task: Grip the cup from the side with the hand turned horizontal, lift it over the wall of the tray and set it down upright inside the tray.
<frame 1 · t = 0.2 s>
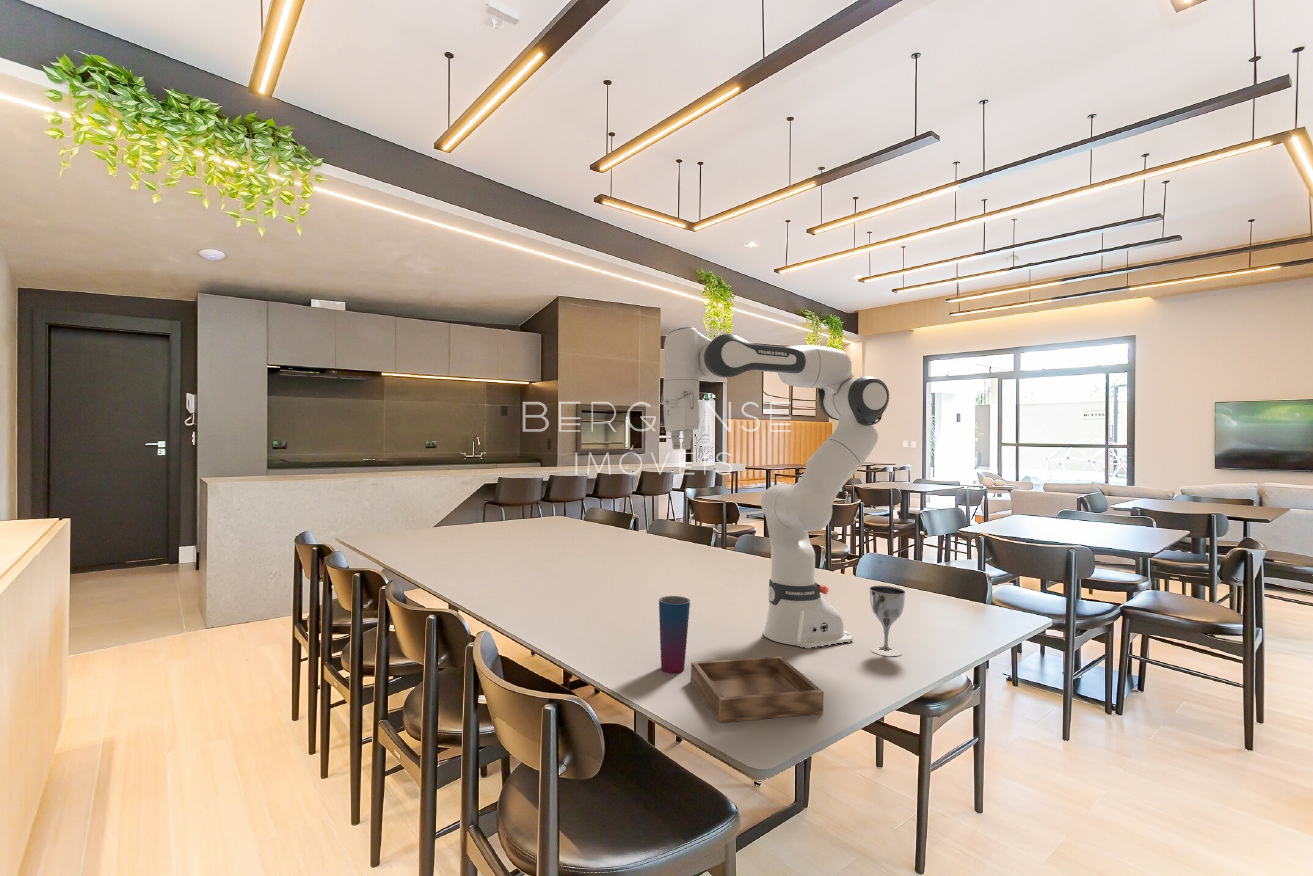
hand: (681, 449, 143), 48 cm above the table, tool pointing down, fingers open, 8 cm apart
wine glass: (885, 652, 140), on the table
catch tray: (753, 696, 113), on the table
cup: (672, 669, 126), on the table
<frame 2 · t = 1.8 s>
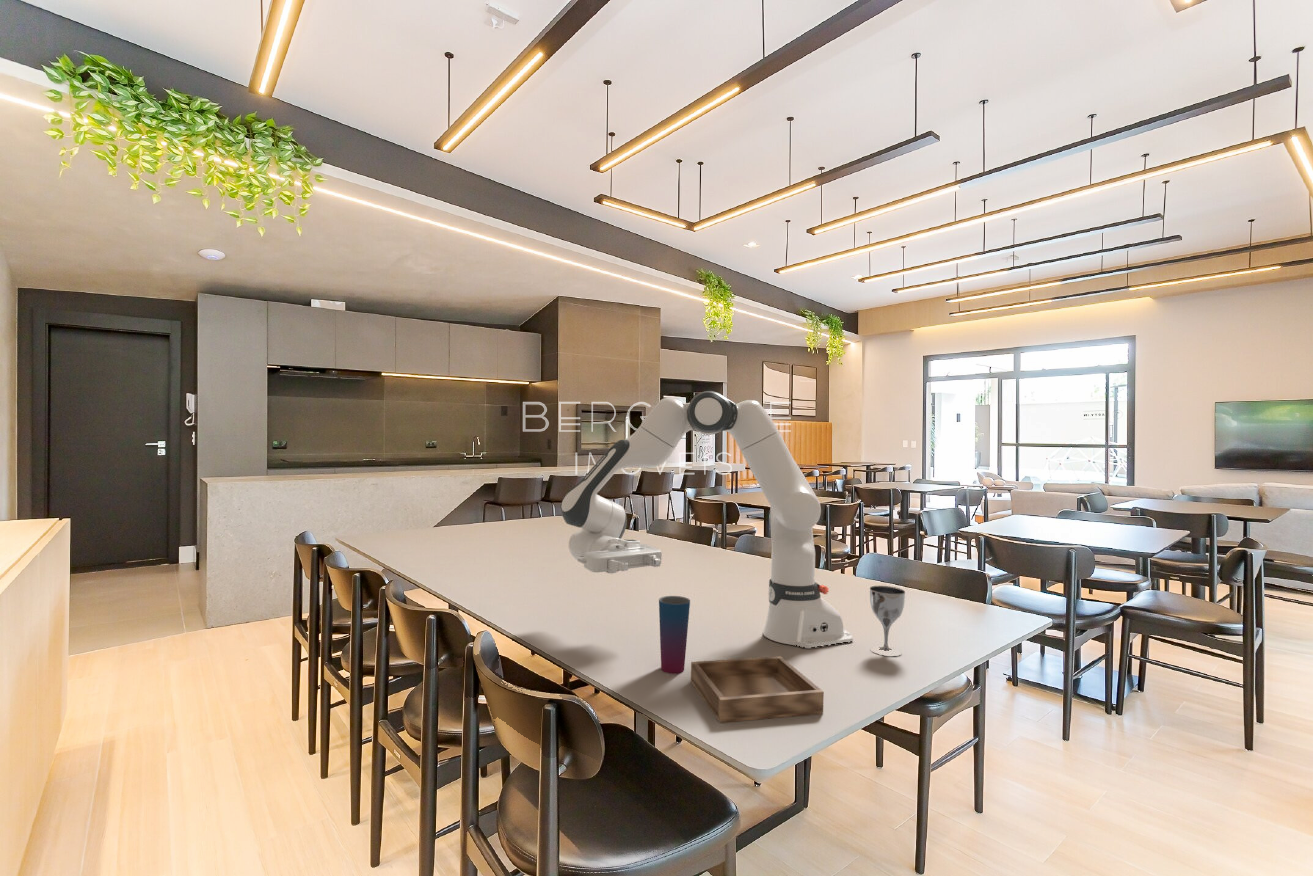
hand: (642, 565, 136), 20 cm above the table, tool horizontal, fingers open, 8 cm apart
nothing on the table moved.
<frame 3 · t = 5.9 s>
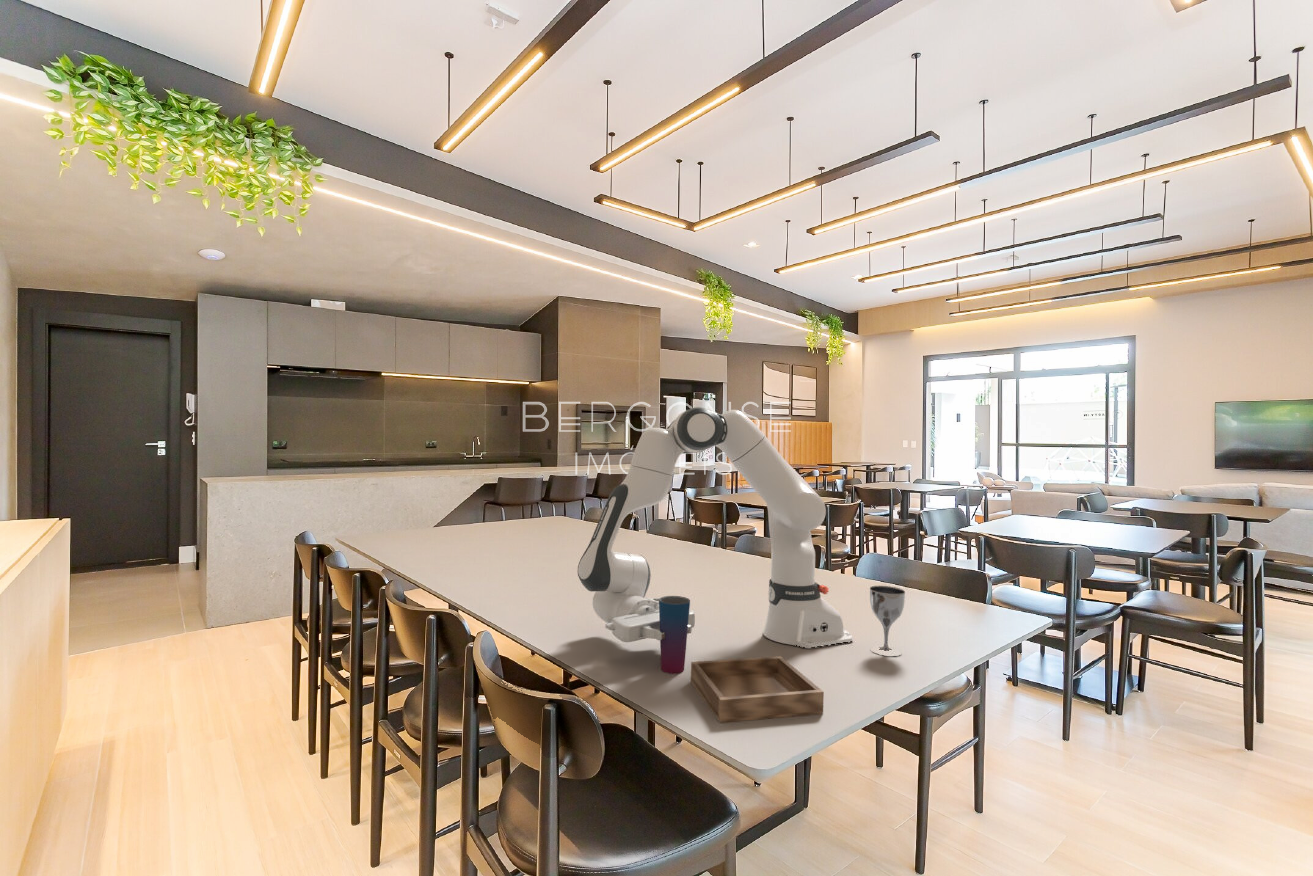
hand: (676, 633, 125), 8 cm above the table, tool horizontal, fingers closed on cup, 6 cm apart
cup: (672, 669, 126), on the table, touching gripper
everything else where it was.
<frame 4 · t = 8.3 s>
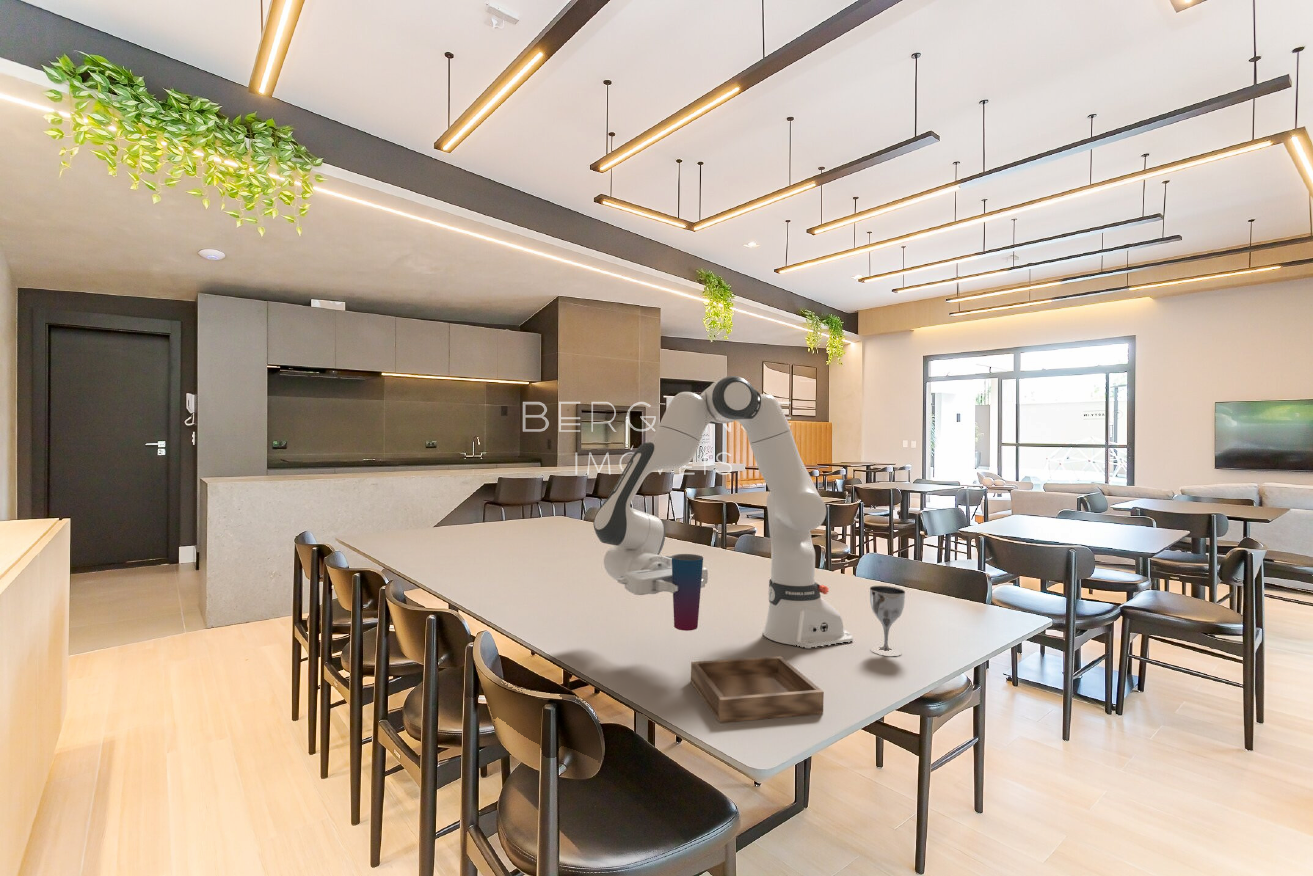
hand: (689, 586, 123), 19 cm above the table, tool horizontal, fingers closed on cup, 6 cm apart
cup: (685, 627, 124), point 10 cm above the table, touching gripper
everything else where it was.
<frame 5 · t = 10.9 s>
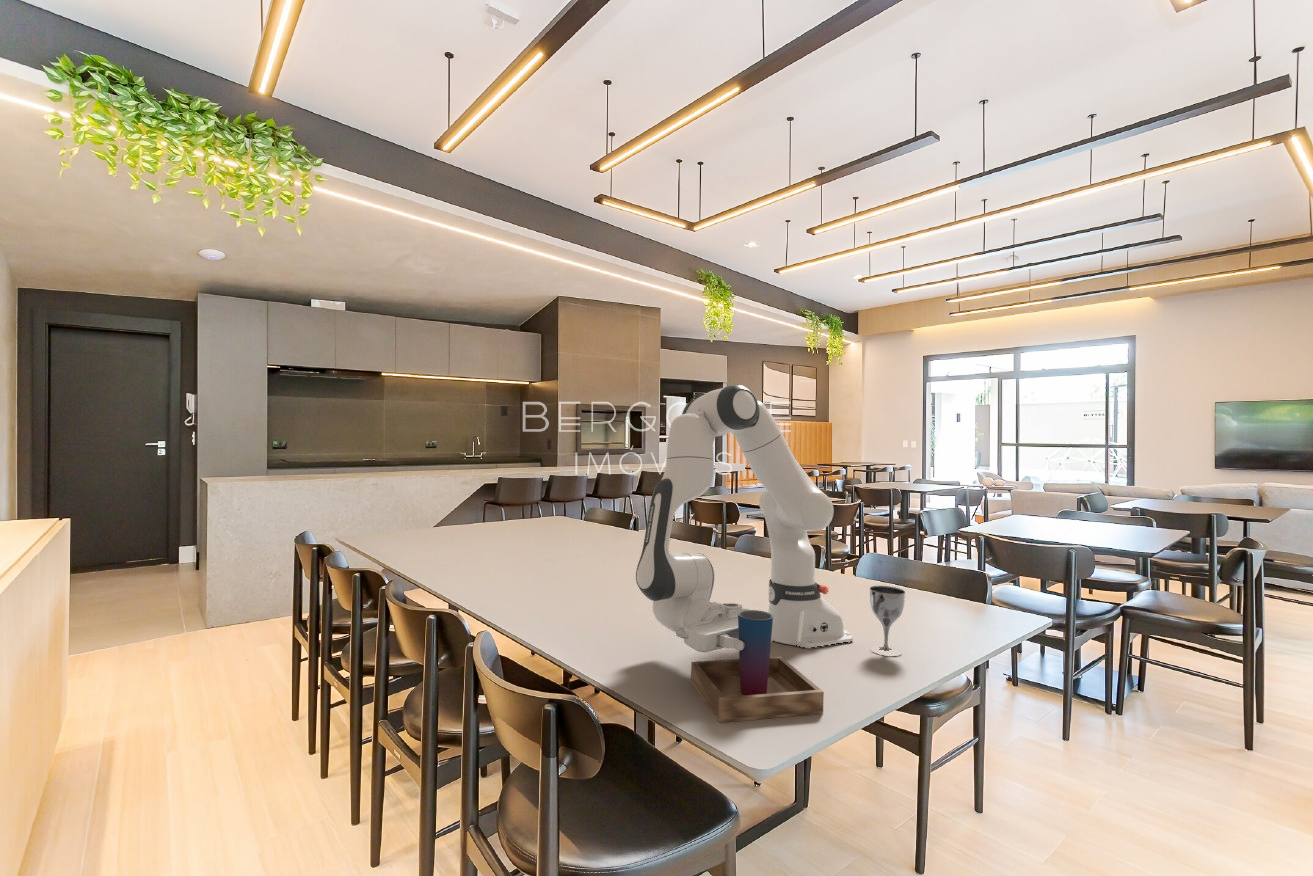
hand: (757, 642, 112), 11 cm above the table, tool horizontal, fingers closed on cup, 6 cm apart
cup: (753, 693, 113), point 1 cm above the table, touching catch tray, gripper
everything else where it was.
when the fingers open (11 cm above the table, at t = 11.4 s): cup stays where it is, resting on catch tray.
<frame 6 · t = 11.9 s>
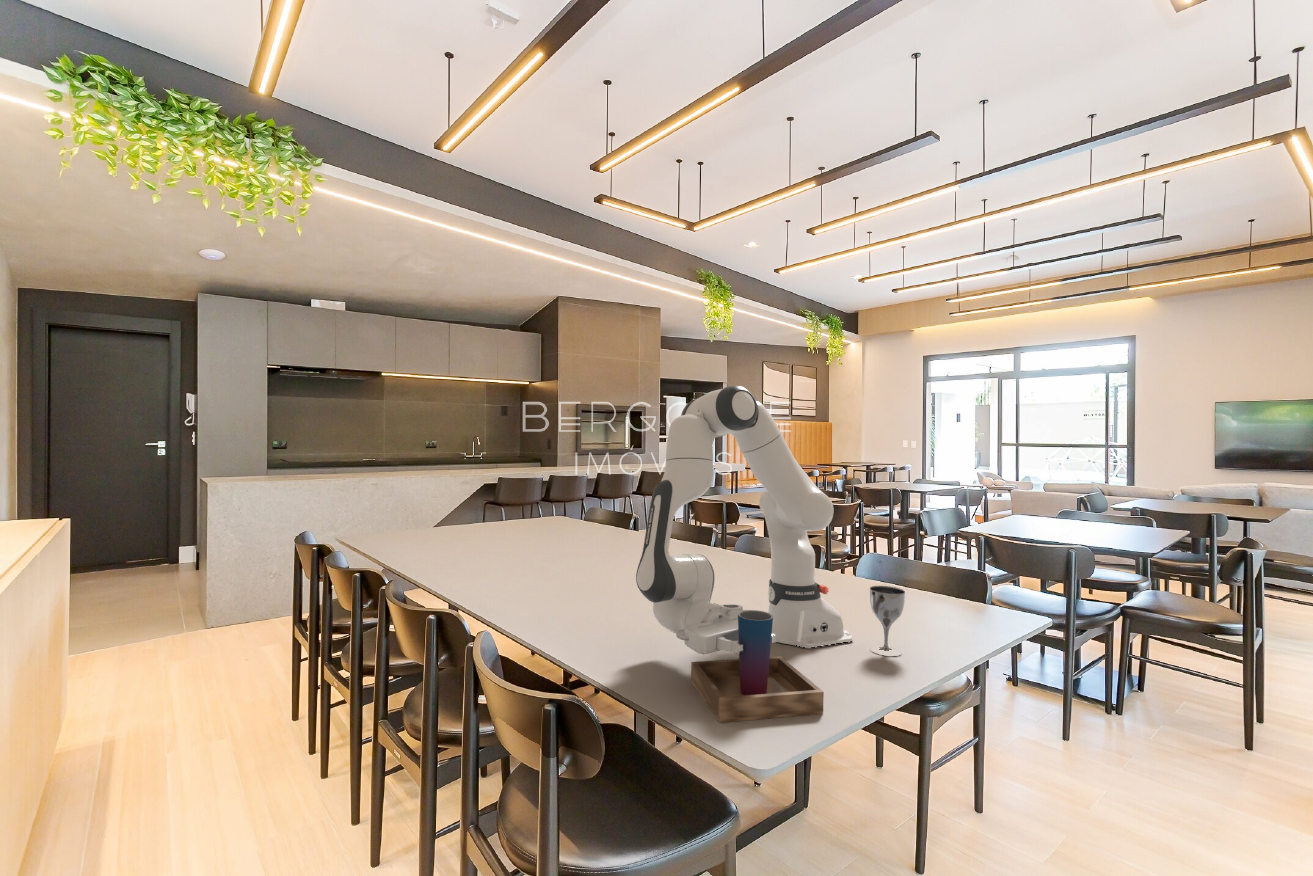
hand: (757, 643, 112), 11 cm above the table, tool horizontal, fingers open, 8 cm apart
cup: (753, 693, 113), point 1 cm above the table, touching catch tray
everything else where it was.
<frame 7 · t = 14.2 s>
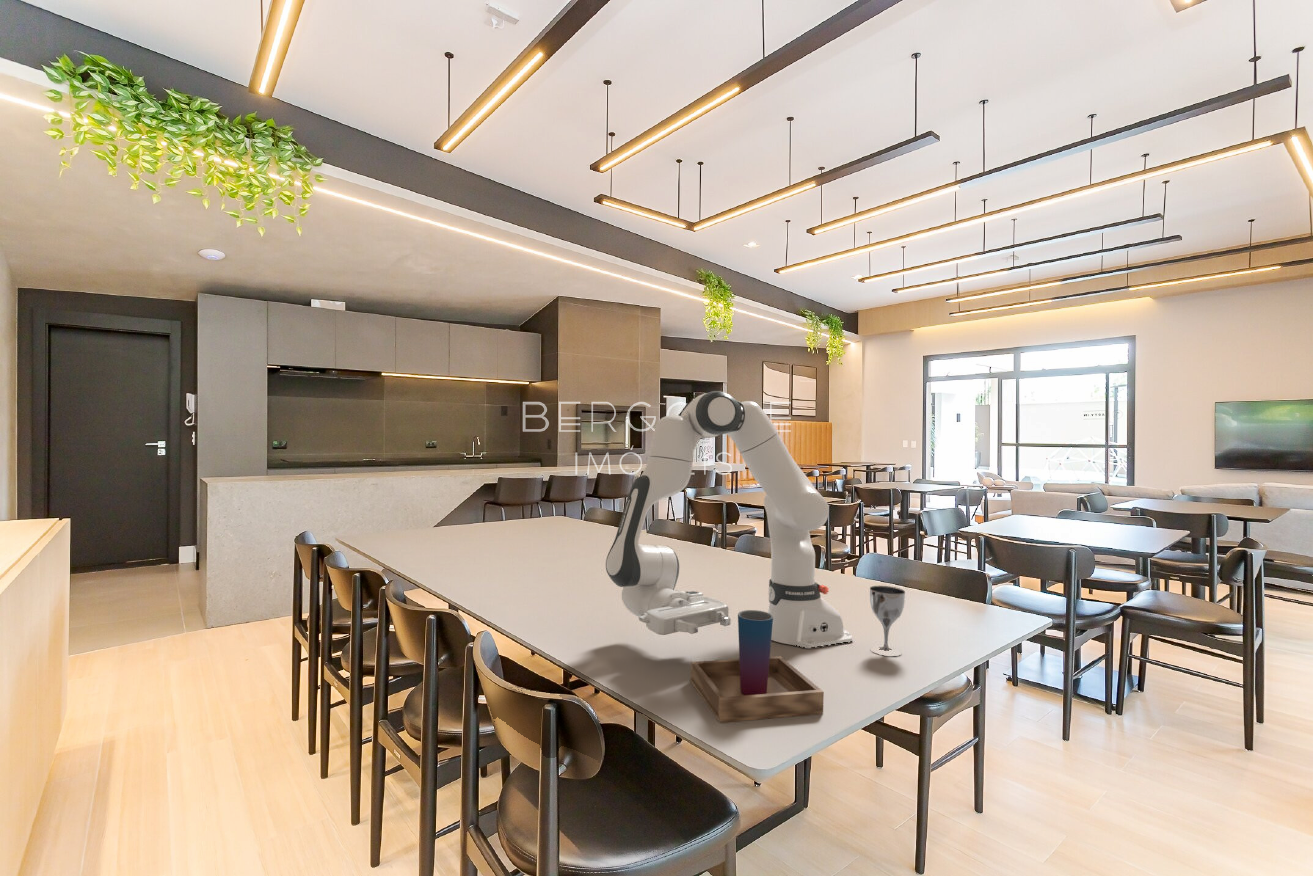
hand: (712, 625, 123), 11 cm above the table, tool horizontal, fingers open, 8 cm apart
nothing on the table moved.
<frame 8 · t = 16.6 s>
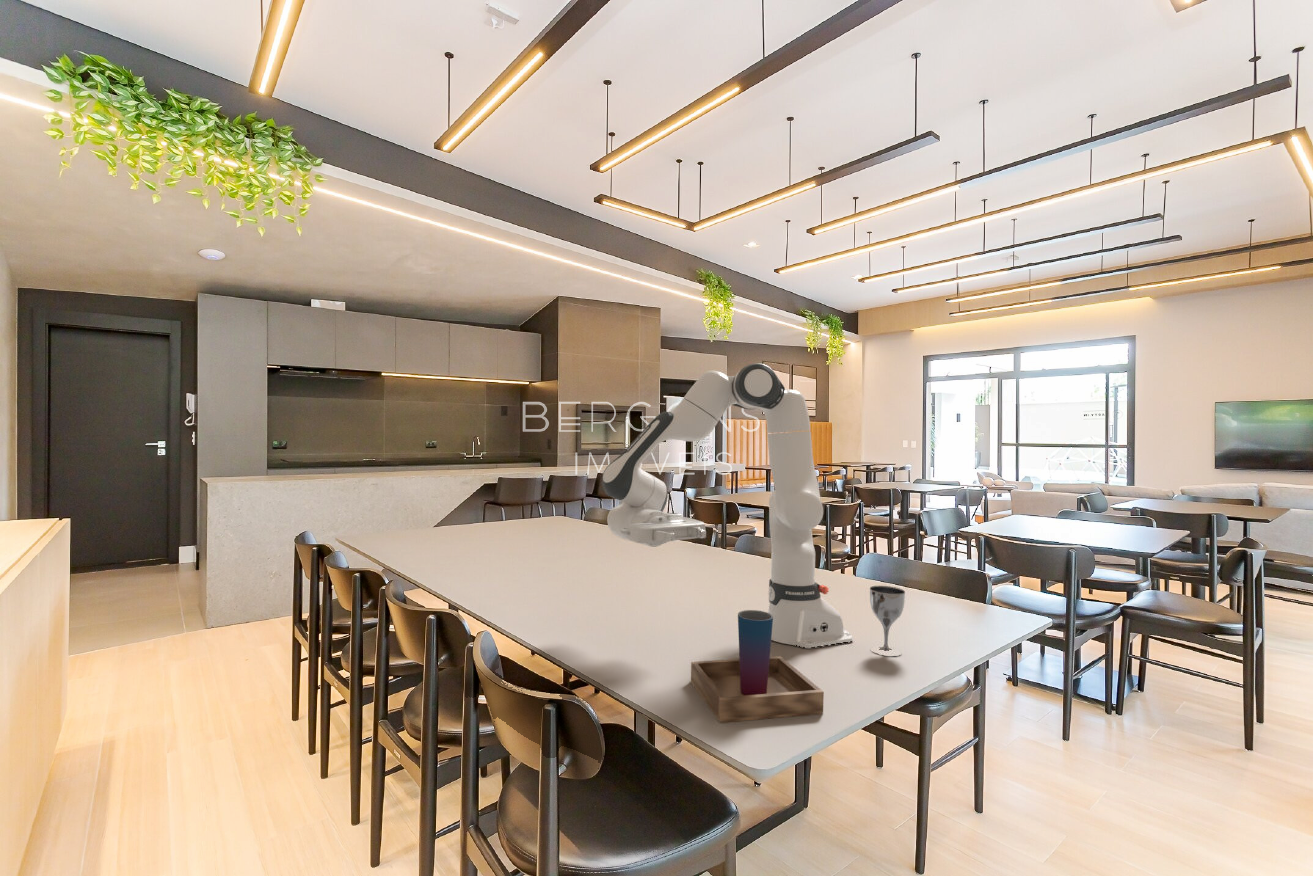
hand: (688, 536, 132), 28 cm above the table, tool horizontal, fingers open, 8 cm apart
nothing on the table moved.
at the end: cup inside the target area on the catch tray (0.4 cm from its centre), point 0.8 cm above the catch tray's base; cup tilted 0°; the gripper is holding nothing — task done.
